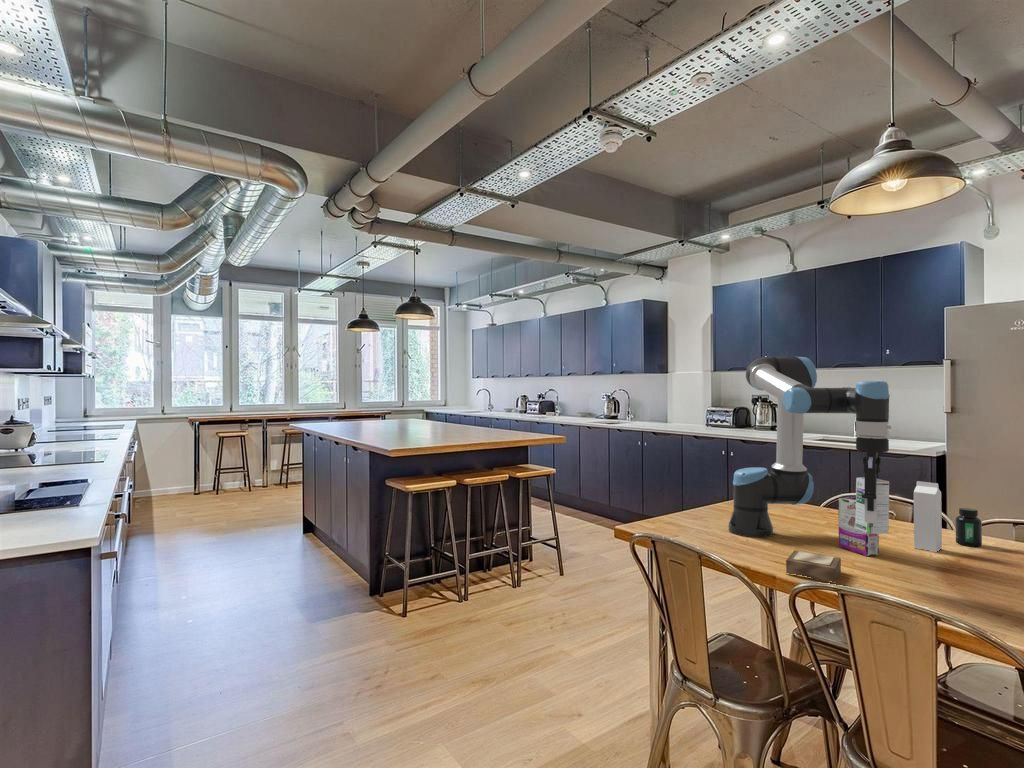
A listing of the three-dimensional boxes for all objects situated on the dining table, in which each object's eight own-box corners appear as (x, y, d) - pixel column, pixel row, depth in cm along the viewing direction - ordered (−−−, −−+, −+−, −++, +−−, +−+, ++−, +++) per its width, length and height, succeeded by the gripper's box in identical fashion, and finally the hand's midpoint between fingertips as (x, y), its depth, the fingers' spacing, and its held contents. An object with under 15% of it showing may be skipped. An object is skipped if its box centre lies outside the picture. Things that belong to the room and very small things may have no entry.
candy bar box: (880, 555, 172) (879, 503, 172) (867, 556, 170) (866, 504, 171) (849, 546, 182) (849, 497, 183) (837, 547, 181) (837, 497, 181)
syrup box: (854, 528, 152) (854, 477, 152) (874, 528, 153) (874, 476, 152) (869, 534, 146) (869, 480, 146) (890, 533, 147) (890, 480, 147)
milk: (936, 553, 175) (935, 484, 175) (913, 548, 180) (913, 481, 180) (942, 549, 178) (941, 482, 179) (920, 545, 183) (919, 480, 183)
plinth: (786, 574, 154) (786, 559, 154) (794, 563, 163) (794, 549, 163) (835, 583, 147) (835, 567, 147) (840, 571, 156) (840, 556, 156)
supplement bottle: (974, 548, 180) (973, 512, 180) (951, 543, 186) (950, 508, 186) (986, 546, 182) (986, 510, 182) (963, 541, 189) (962, 506, 189)
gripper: (886, 441, 139) (886, 529, 139) (890, 434, 155) (890, 514, 155) (852, 439, 143) (851, 525, 143) (859, 433, 160) (859, 510, 160)
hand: (871, 519), depth 149 cm, fingers closed on syrup box, 8 cm apart
